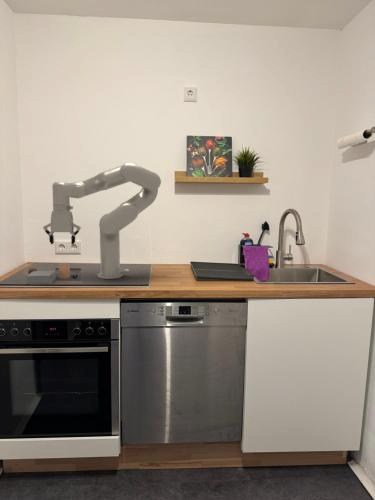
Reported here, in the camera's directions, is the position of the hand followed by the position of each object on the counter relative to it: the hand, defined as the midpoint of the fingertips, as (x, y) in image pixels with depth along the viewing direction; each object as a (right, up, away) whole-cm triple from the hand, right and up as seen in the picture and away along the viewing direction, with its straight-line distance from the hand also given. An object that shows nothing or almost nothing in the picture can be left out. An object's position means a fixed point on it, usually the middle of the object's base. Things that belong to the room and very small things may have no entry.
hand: (62, 243), depth 170 cm
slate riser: (-8, -18, -5) cm, 20 cm away
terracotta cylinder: (0, -17, +3) cm, 17 cm away
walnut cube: (-16, -16, +5) cm, 23 cm away
